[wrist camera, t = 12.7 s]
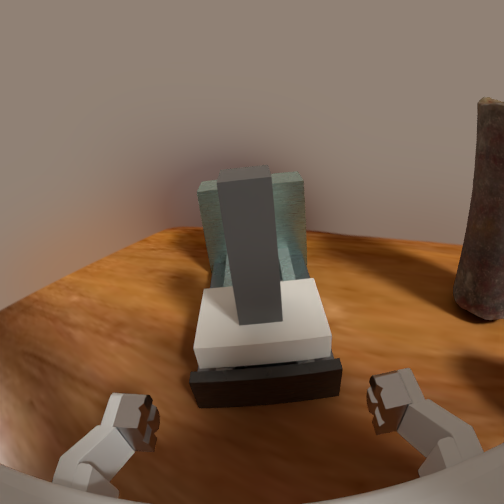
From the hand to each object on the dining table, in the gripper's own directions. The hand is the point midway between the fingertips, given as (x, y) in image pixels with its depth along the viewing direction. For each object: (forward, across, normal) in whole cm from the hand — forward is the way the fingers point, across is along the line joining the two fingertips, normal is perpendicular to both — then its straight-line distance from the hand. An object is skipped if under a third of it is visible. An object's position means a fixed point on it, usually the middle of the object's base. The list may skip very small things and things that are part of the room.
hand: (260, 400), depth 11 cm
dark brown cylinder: (+13, -22, +10) cm, 27 cm away
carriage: (+12, 0, +7) cm, 13 cm away
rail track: (+18, 0, +10) cm, 20 cm away
